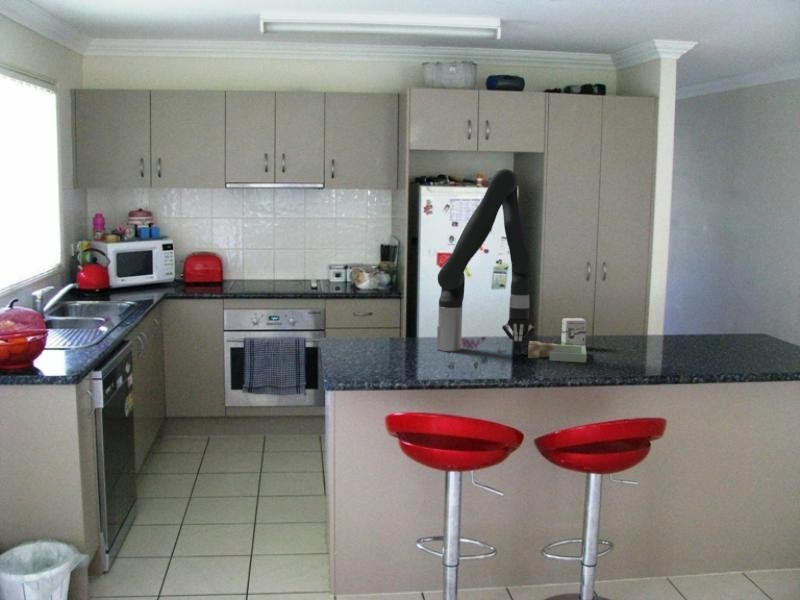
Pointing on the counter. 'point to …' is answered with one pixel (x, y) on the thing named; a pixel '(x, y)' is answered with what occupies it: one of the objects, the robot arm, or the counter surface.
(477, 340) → the counter surface
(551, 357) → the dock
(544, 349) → the t block
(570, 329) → the ink box
